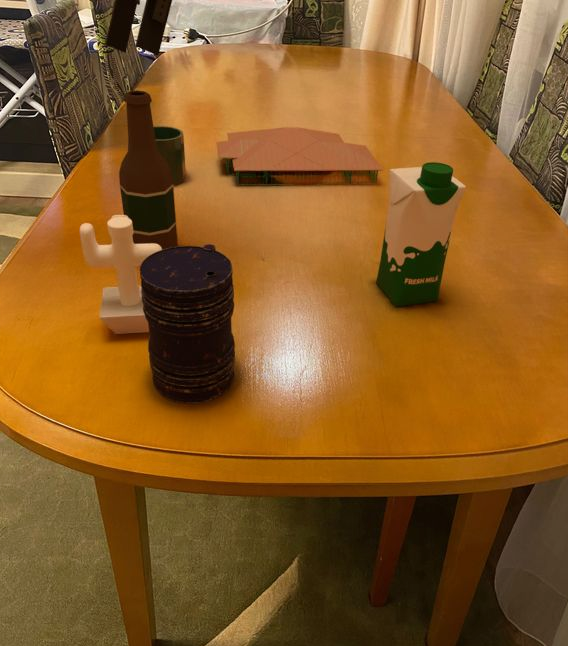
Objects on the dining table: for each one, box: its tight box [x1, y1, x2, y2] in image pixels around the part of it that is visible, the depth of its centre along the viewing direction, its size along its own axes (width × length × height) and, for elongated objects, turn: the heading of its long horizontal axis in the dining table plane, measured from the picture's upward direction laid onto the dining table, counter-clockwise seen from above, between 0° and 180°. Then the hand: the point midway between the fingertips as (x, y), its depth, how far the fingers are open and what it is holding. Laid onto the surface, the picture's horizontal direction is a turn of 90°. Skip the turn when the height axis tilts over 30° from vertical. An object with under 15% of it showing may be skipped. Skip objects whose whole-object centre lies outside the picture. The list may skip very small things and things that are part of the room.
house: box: [215, 126, 384, 186], centre depth 129 cm, size 23×33×8 cm
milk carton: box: [375, 161, 467, 308], centre depth 86 cm, size 9×9×20 cm
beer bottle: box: [118, 90, 178, 250], centre depth 90 cm, size 8×8×24 cm
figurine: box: [79, 214, 162, 335], centre depth 76 cm, size 7×9×15 cm
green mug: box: [153, 125, 187, 187], centre depth 120 cm, size 12×9×9 cm
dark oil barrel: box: [138, 243, 236, 404], centre depth 67 cm, size 10×10×18 cm
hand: (130, 50), depth 78 cm, fingers open, 13 cm apart
